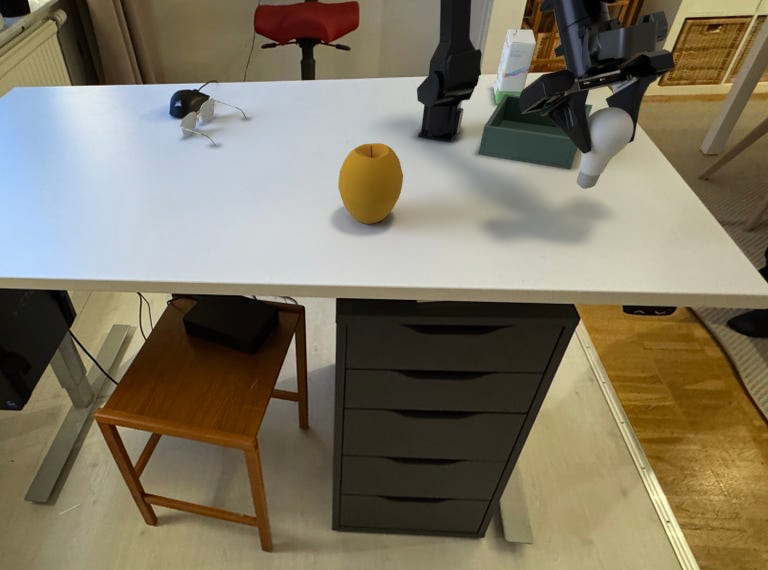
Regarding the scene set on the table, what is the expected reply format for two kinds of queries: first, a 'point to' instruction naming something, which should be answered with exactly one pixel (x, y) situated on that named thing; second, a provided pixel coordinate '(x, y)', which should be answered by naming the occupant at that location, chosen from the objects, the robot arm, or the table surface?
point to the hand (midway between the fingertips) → (608, 147)
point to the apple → (370, 182)
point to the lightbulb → (604, 142)
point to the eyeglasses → (190, 120)
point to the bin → (526, 136)
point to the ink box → (514, 63)
